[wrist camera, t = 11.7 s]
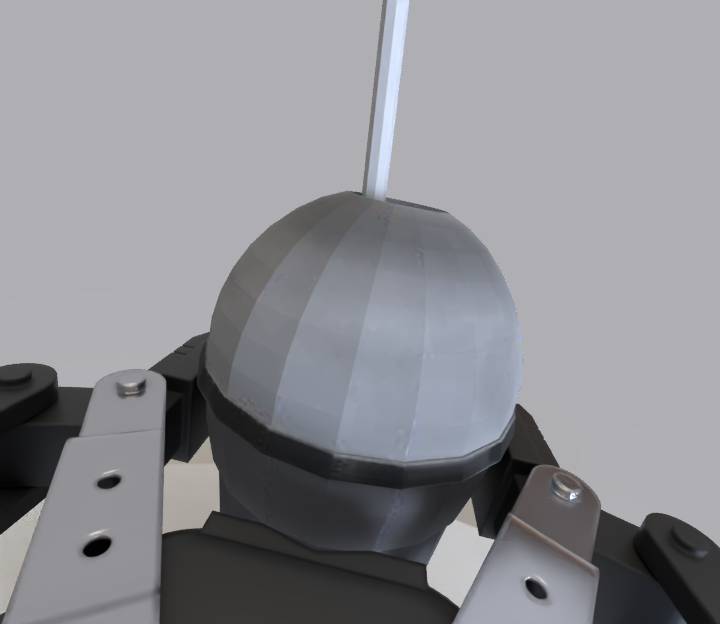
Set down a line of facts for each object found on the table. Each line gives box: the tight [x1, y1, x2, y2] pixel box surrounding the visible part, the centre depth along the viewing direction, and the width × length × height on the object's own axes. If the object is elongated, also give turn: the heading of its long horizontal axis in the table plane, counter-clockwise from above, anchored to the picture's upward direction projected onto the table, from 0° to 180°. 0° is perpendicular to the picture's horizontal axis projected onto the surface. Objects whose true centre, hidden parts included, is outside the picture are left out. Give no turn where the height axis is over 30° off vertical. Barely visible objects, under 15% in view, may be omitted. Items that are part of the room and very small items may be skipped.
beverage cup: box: [197, 0, 523, 566], centre depth 10 cm, size 7×7×20 cm
